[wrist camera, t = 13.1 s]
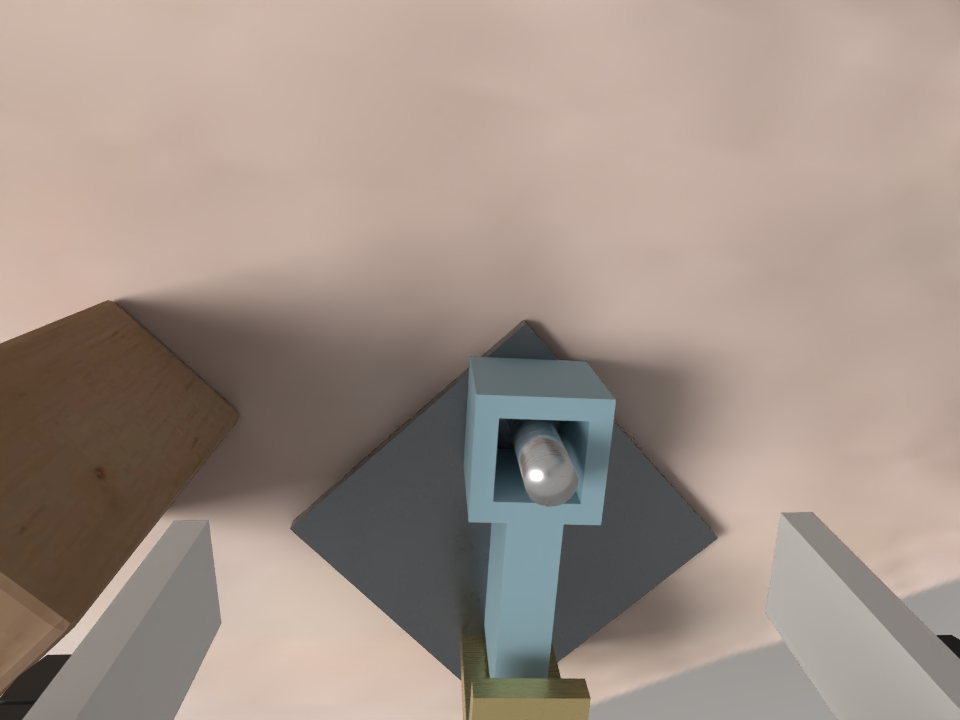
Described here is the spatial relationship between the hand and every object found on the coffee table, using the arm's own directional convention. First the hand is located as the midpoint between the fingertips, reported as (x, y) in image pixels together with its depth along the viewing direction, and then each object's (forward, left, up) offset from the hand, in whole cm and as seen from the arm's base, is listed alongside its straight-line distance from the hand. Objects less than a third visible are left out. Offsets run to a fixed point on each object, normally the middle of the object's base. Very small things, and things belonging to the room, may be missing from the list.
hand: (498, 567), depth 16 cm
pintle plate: (+7, +12, -26) cm, 29 cm away
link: (+5, +11, -25) cm, 27 cm away
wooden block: (+19, -10, -26) cm, 33 cm away
